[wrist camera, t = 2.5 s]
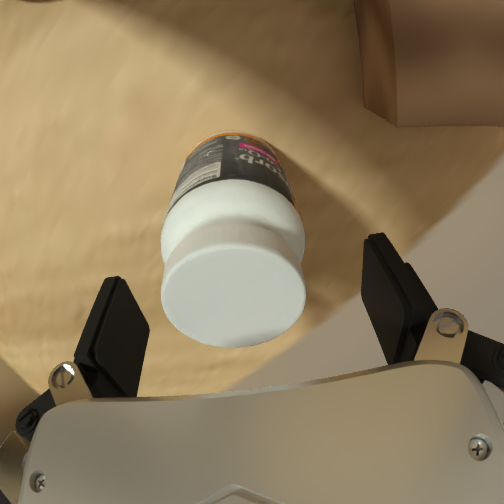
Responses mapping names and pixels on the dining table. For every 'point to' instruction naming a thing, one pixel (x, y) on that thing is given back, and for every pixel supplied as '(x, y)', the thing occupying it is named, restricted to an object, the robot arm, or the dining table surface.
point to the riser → (433, 61)
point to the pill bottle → (233, 245)
